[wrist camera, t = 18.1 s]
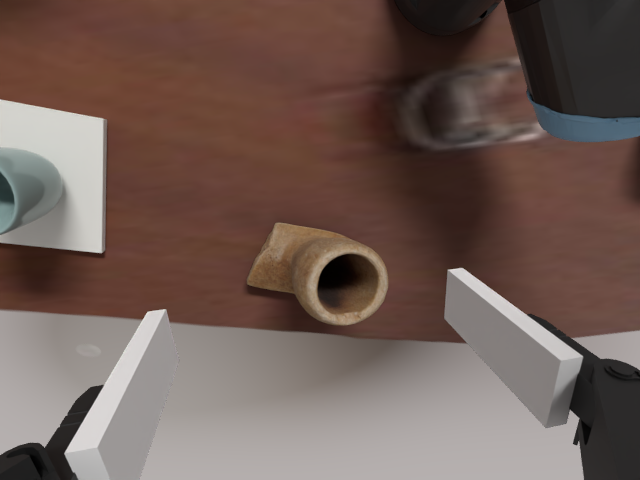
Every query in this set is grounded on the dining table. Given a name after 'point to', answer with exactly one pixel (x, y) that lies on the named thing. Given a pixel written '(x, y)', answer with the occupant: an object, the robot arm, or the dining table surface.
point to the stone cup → (322, 273)
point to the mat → (62, 174)
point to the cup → (26, 188)
